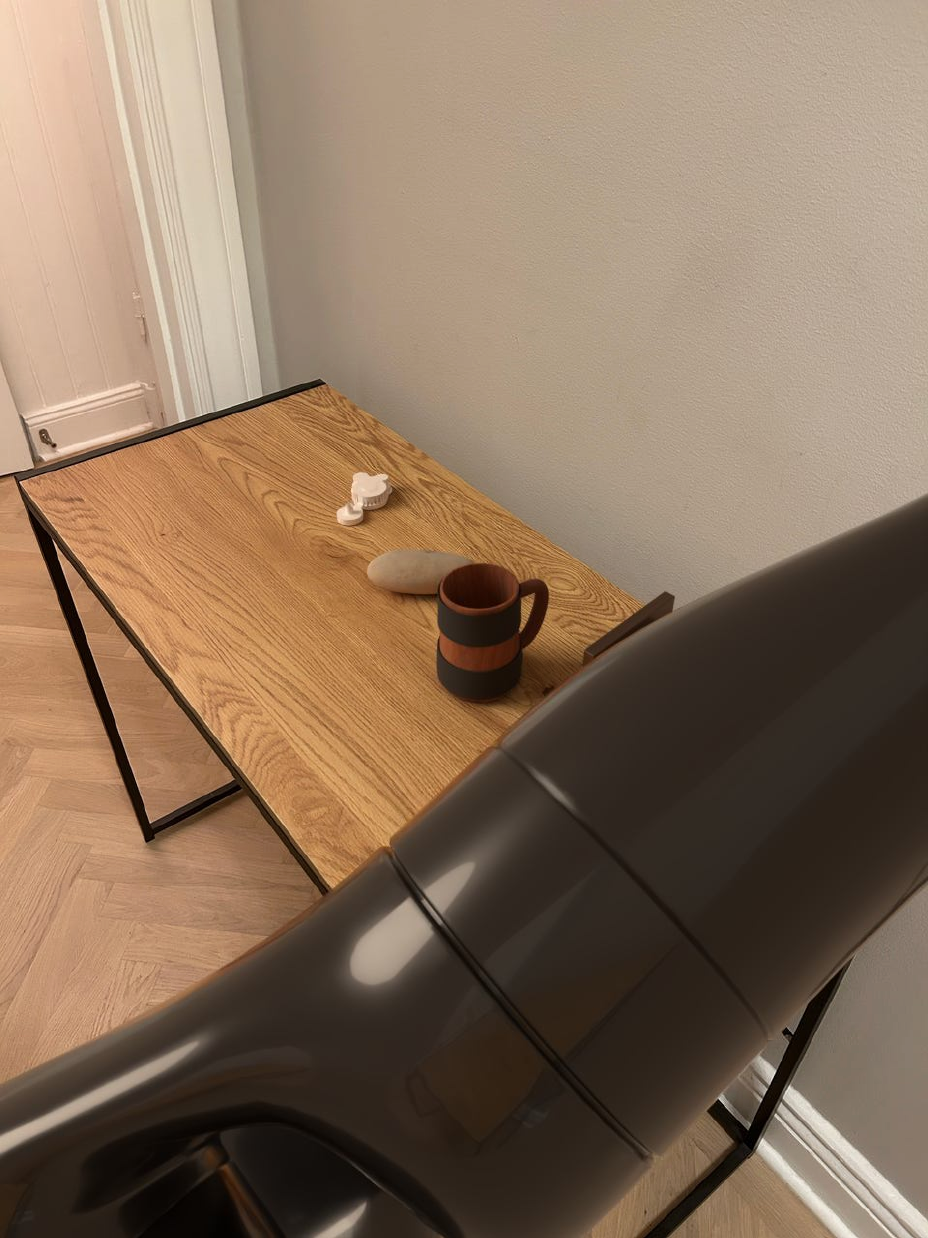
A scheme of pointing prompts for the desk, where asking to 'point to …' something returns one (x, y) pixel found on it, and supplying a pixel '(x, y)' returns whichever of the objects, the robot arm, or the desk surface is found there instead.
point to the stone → (413, 570)
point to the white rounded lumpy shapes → (364, 497)
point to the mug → (485, 630)
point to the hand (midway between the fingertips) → (521, 951)
